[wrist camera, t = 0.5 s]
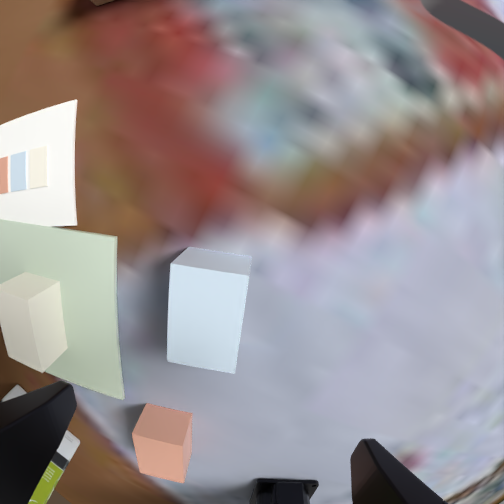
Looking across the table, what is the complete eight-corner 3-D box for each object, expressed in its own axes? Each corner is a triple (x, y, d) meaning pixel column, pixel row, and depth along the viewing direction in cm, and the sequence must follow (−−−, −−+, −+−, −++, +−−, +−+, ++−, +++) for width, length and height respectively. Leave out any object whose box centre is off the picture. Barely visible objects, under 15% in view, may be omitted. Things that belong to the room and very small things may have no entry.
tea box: (52, 466, 27) (13, 531, 13) (1, 420, 26) (-48, 478, 12) (84, 441, 24) (31, 534, 10) (18, 380, 23) (-56, 457, 9)
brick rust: (191, 452, 23) (183, 483, 20) (151, 443, 24) (140, 472, 20) (192, 412, 22) (182, 446, 18) (147, 402, 22) (131, 433, 18)
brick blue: (239, 339, 20) (234, 373, 16) (183, 330, 20) (166, 361, 16) (252, 255, 19) (249, 275, 15) (189, 246, 19) (170, 263, 15)
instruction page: (77, 224, 18) (74, 225, 18) (-15, 230, 19) (-17, 230, 19) (77, 100, 16) (75, 99, 16) (-17, 133, 17) (-19, 133, 17)
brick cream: (67, 347, 21) (42, 373, 17) (34, 335, 21) (8, 356, 17) (59, 281, 19) (27, 300, 15) (25, 271, 19) (-7, 287, 15)
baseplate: (125, 397, 22) (123, 400, 22) (11, 353, 22) (9, 355, 22) (117, 236, 19) (114, 237, 18) (-8, 217, 19) (-11, 217, 18)
